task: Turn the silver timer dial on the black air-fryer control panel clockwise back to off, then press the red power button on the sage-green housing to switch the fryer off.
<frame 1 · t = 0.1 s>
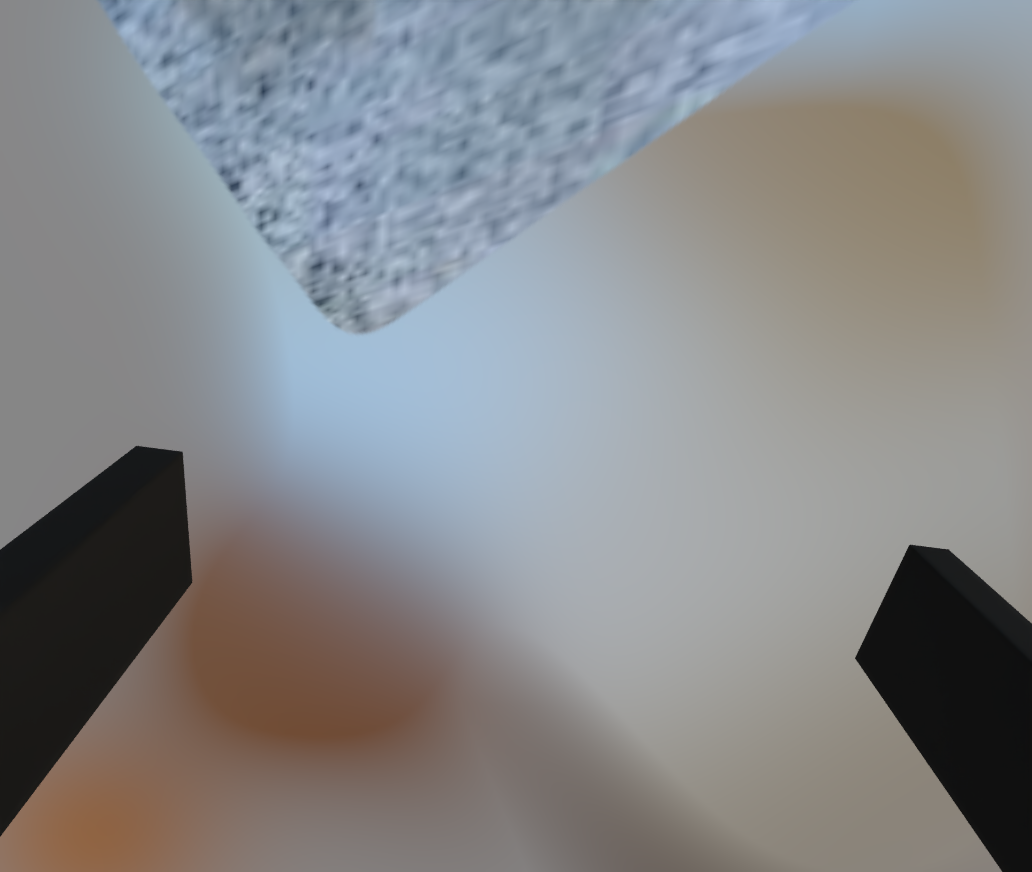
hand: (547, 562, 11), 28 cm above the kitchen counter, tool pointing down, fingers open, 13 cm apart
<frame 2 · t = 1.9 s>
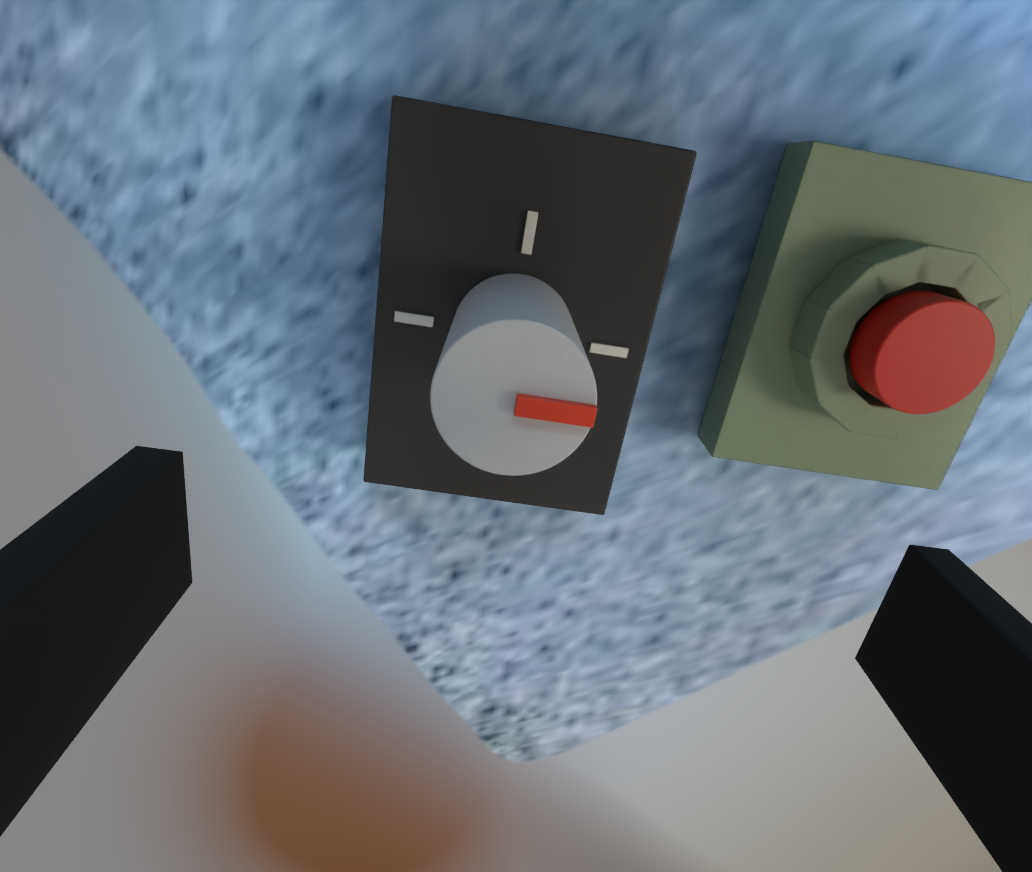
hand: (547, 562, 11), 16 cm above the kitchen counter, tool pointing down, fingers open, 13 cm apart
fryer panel: (512, 315, 26), on the kitchen counter
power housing: (853, 322, 26), on the kitchen counter
timer dial: (513, 364, 19), point 7 cm above the kitchen counter, hinge at 90.0°
power button: (919, 352, 22), point 4 cm above the kitchen counter, slide at 0.1 cm
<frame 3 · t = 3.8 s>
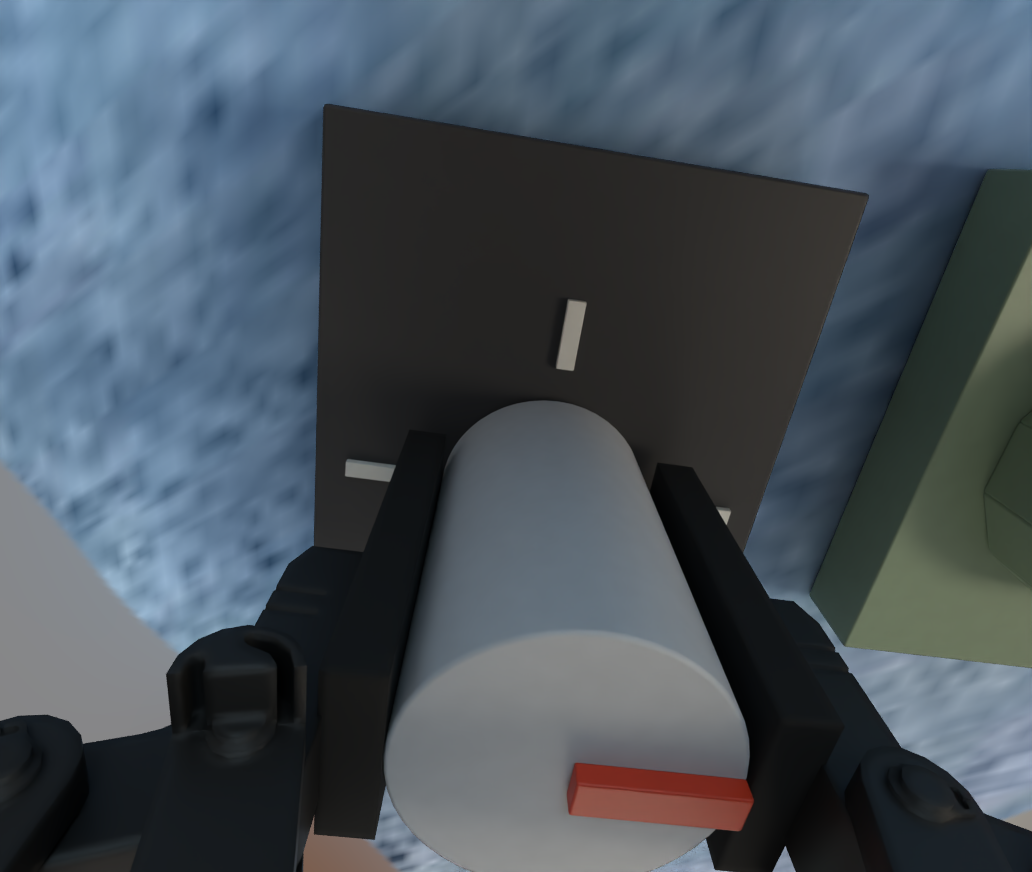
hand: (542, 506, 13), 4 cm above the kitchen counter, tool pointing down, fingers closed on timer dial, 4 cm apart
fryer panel: (536, 436, 17), on the kitchen counter
timer dial: (550, 597, 11), point 7 cm above the kitchen counter, hinge at 90.0°, touching gripper
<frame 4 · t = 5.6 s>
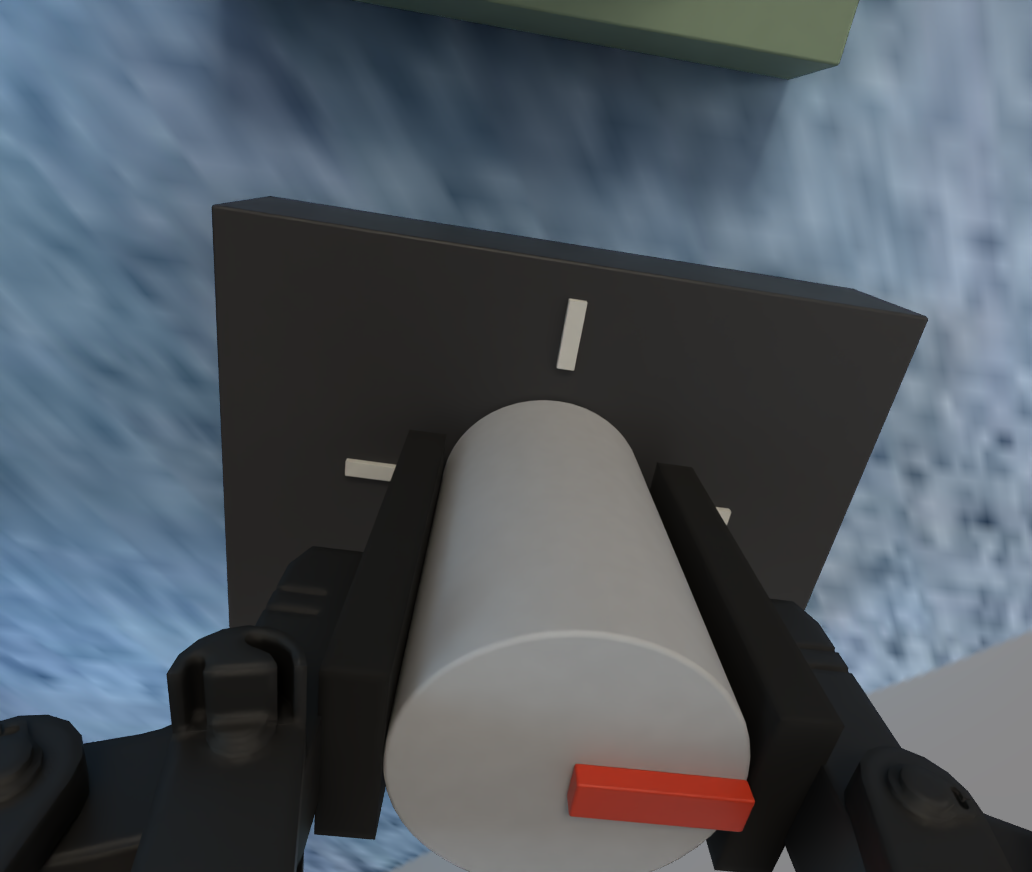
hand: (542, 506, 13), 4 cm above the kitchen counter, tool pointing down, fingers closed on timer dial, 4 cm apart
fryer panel: (536, 436, 17), on the kitchen counter
timer dial: (550, 597, 10), point 7 cm above the kitchen counter, hinge at 0.4°, touching gripper
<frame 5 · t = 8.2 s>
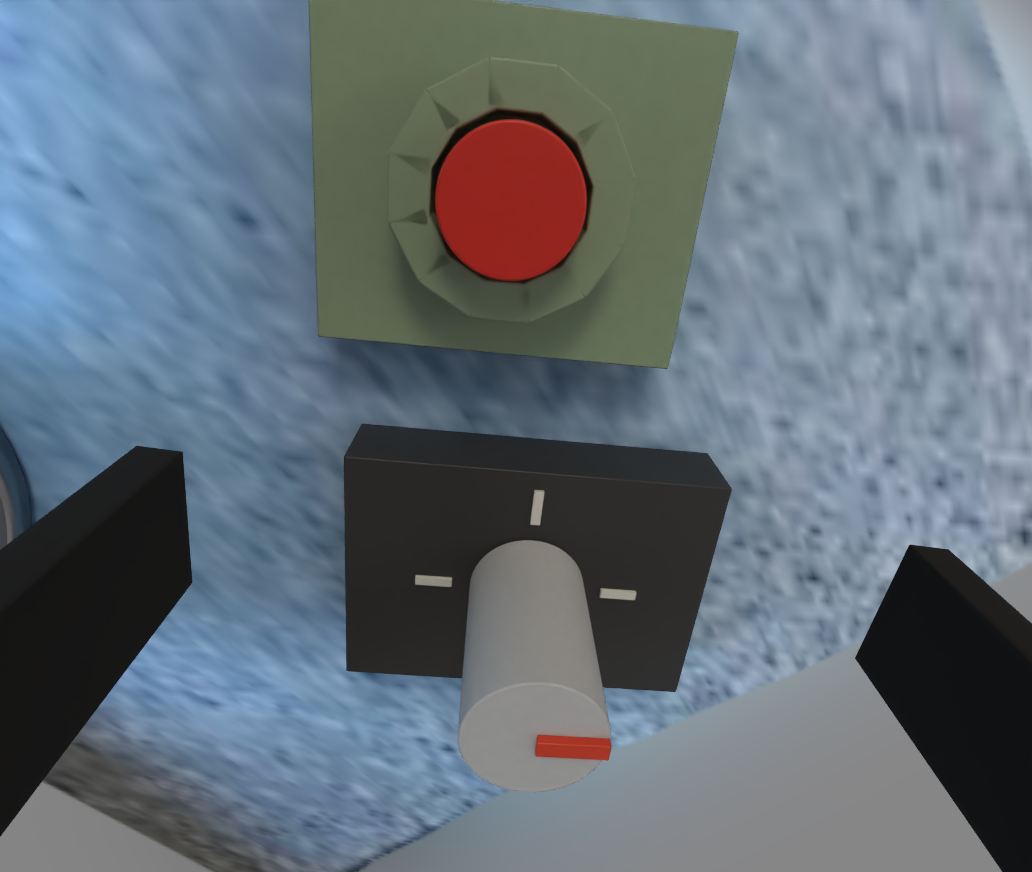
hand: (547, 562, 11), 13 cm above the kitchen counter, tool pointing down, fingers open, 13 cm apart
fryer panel: (524, 542, 27), on the kitchen counter
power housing: (509, 193, 21), on the kitchen counter
timer dial: (529, 655, 21), point 7 cm above the kitchen counter, hinge at 0.6°
power button: (510, 202, 17), point 4 cm above the kitchen counter, slide at 0.1 cm
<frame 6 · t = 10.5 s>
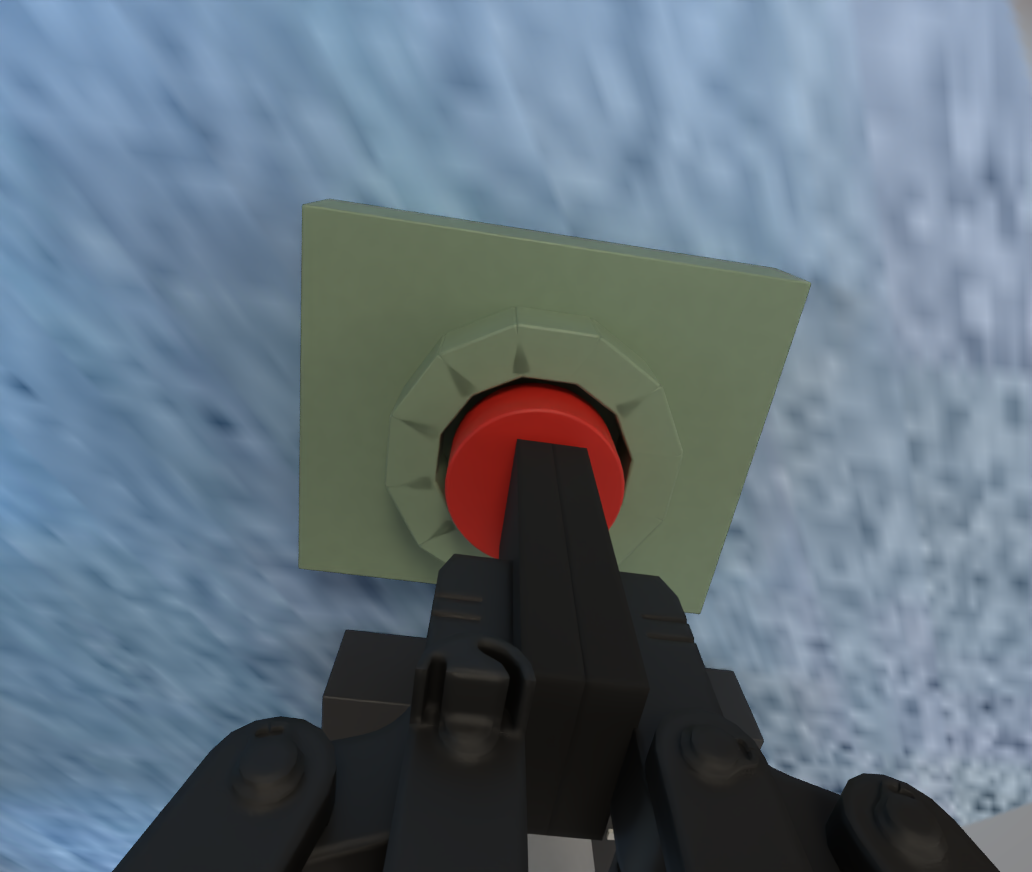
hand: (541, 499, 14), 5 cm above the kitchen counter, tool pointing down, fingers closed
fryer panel: (522, 749, 24), on the kitchen counter
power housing: (528, 409, 18), on the kitchen counter
power button: (533, 474, 15), point 4 cm above the kitchen counter, slide at -0.2 cm, touching gripper
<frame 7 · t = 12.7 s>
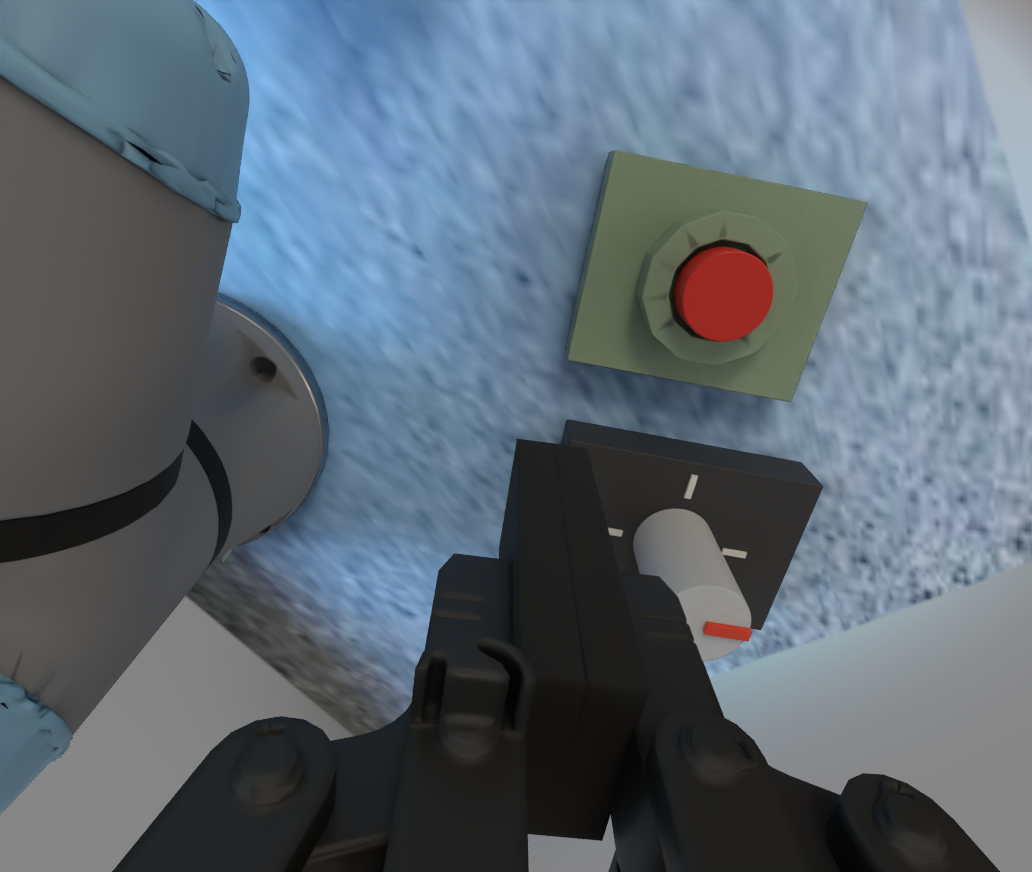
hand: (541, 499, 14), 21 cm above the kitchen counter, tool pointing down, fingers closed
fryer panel: (661, 514, 38), on the kitchen counter
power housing: (698, 278, 32), on the kitchen counter
timer dial: (686, 581, 32), point 7 cm above the kitchen counter, hinge at 0.6°
power button: (722, 294, 28), point 4 cm above the kitchen counter, slide at 0.1 cm
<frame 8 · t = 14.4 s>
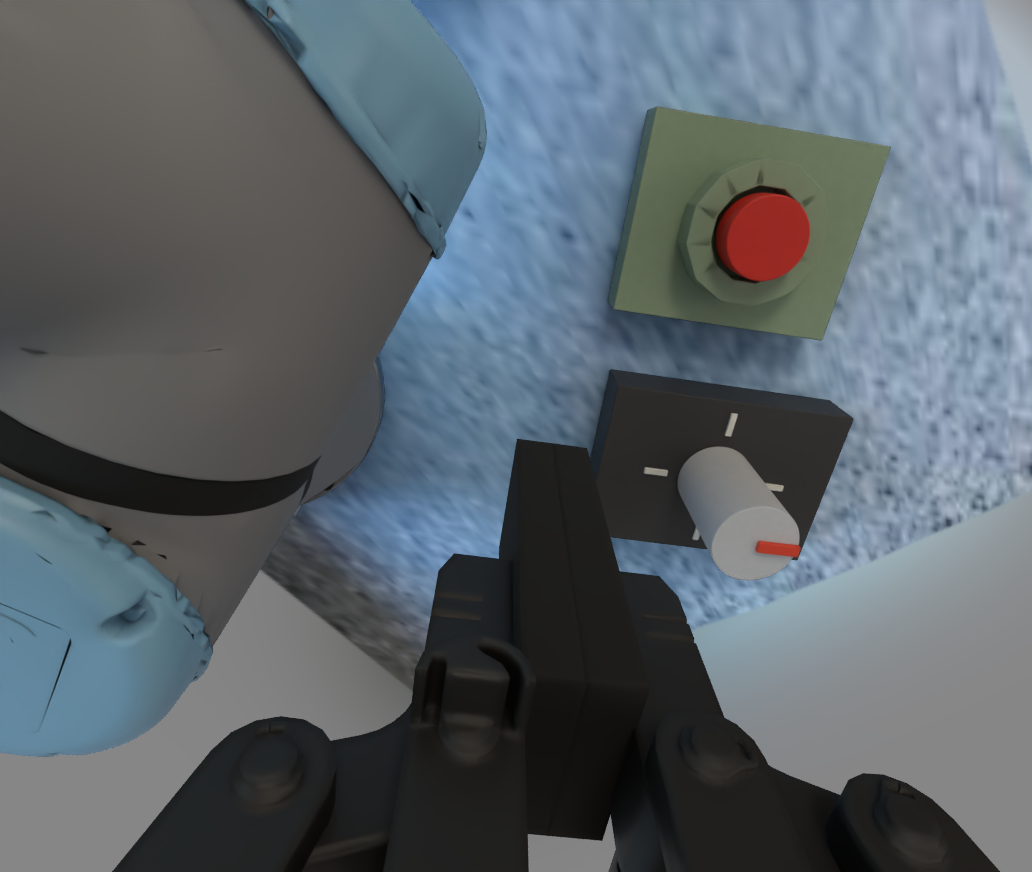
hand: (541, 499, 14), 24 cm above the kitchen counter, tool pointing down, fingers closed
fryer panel: (699, 457, 40), on the kitchen counter
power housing: (731, 227, 35), on the kitchen counter
timer dial: (733, 510, 34), point 7 cm above the kitchen counter, hinge at 0.6°
power button: (761, 237, 30), point 4 cm above the kitchen counter, slide at 0.1 cm
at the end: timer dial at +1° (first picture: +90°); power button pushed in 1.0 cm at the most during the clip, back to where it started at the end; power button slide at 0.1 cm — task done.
